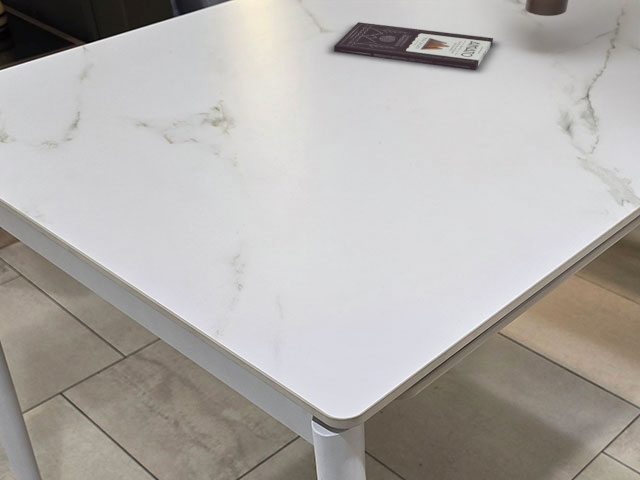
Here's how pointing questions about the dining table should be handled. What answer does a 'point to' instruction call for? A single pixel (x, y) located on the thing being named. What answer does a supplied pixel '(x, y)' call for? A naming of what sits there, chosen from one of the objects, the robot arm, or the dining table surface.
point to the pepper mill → (546, 7)
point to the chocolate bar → (415, 45)
